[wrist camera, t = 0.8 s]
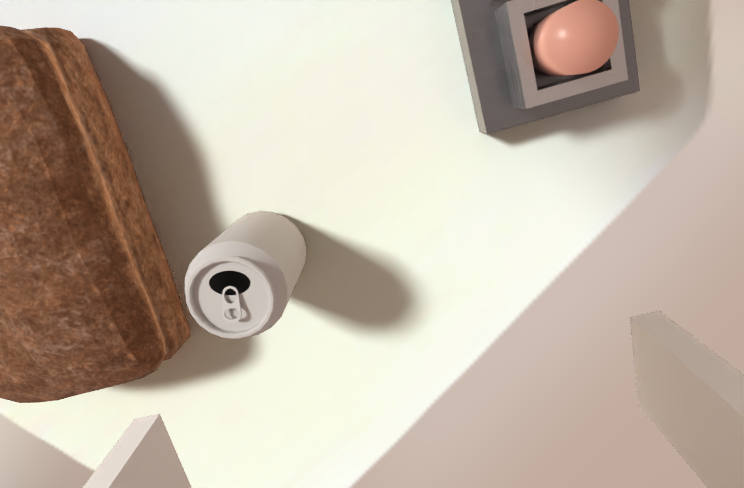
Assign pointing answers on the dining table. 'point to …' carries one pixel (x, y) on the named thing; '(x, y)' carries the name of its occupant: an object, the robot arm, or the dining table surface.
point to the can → (245, 275)
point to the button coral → (574, 39)
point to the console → (515, 67)
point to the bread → (73, 232)
